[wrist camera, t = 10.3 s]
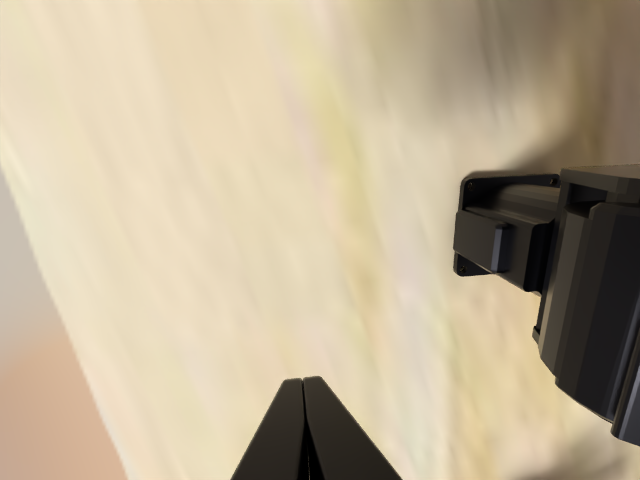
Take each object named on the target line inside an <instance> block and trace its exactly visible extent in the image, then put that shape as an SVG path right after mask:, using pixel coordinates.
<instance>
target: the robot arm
mask: <svg viewBox="0 0 640 480" xmlns="http://www.w3.org/2000/svg"><path fill="white" fill-rule="evenodd" d="M551 180H552V183H551V184H550V181H551ZM561 181H562V182H561ZM469 183H472V187H471V188H470V189H468V184H469ZM560 185H561V188H560ZM453 249H454V251H455V255H454V266H453V269H454V272H455V273H456V274H457V275H459V276H462V277H464V276H476V275H488V274H496V275H498V276H500V277H501V278H503V279H505V280H506V281H508V282H510V283H512V284H513V285H515V286H517V287H518V288H520V289H522V290H523V291H525V292H532V293H534V294H536V295H537V296H539V297H541V302H540V307H539V313H538V319H537V324H536V326H534V328H533V333H532V337H533V338H534V340H535V341H536V343H537V344H538V349H539V353H540V358H541V360H542V361H543V362H544V363H545V365H546V366H547V367H548V369H549V370H550V371H551V372H552V374H553V375H554V376H555V377H556V378H555V384H556V385H557V387H558V388H559V389H561V390H562V391H563V392H564V393H565V394H567V395H568V396H569V397H571V398H572V399H573V400H575V401H576V402H577V403H578V404H580V405H582V406H583V407H585V408H587V409H588V410H590V411H591V412H593V413H594V414H596V415H597V416H599V417H600V418H602V419H604V420H606V421H608V422H610V423H612V428H611V431H610V432H611V434H612V435H613V436H614V437H616V438H618V439H620V440H623V441H626V442H629V443H631V444H634V445H637V446H640V164H633V165H613V166H593V167H573V168H561V172H560V176H559V175H558V174H531V175H512V176H492V177H473V178H466V179H464V180H463V181H462V183H461V186H460V197H459V208H458V212H457V213H456V221H455V233H454V245H453ZM462 266H464V269H463V270H462V271H460V268H461V267H462ZM308 463H309V465H308ZM309 476H310V480H403V479H402V478H401V477H400V476H399V474H398V473H397V472H396V471H395V469H394V468H393V467H392V466H391V464H390V463H389V462H388V461H387V459H386V458H385V457H384V455H383V454H382V453H381V452H380V450H379V449H378V448H377V447H376V445H375V444H374V443H373V442H372V440H371V439H370V438H369V436H368V435H367V434H366V433H365V431H364V430H363V429H362V428H361V426H360V425H359V424H358V423H357V421H356V420H355V419H354V418H353V416H352V415H351V414H350V412H349V411H348V410H347V409H346V407H345V406H344V405H343V404H342V402H341V401H340V400H339V399H338V397H337V396H336V395H335V394H334V392H333V391H332V390H331V388H330V387H329V386H328V385H327V383H326V382H325V381H324V380H323V378H322V377H320V376H312V377H305V378H304V379H303V382H302V379H301V378H294V379H286V380H284V381H283V383H282V384H281V386H280V388H279V390H278V392H277V394H276V395H275V397H274V399H273V401H272V403H271V405H270V407H269V409H268V410H267V412H266V414H265V416H264V418H263V420H262V422H261V423H260V425H259V427H258V429H257V431H256V433H255V435H254V437H253V438H252V440H251V442H250V444H249V446H248V448H247V450H246V452H245V453H244V455H243V457H242V459H241V461H240V463H239V465H238V466H237V468H236V470H235V472H234V474H233V476H232V478H231V480H309Z"/></svg>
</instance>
